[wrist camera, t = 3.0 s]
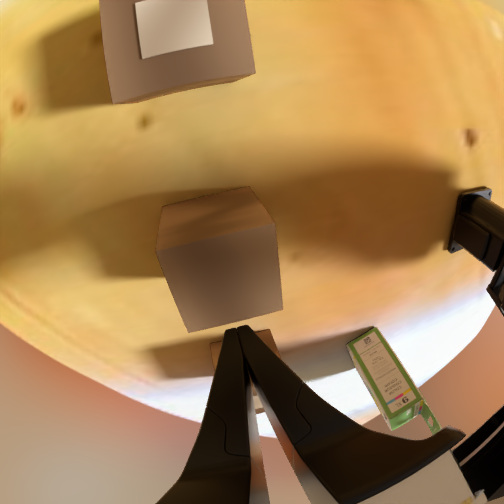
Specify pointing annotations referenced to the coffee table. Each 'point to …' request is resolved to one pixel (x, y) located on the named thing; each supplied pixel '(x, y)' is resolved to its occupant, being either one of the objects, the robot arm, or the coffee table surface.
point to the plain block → (220, 258)
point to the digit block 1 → (173, 46)
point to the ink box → (388, 381)
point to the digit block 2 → (269, 341)
